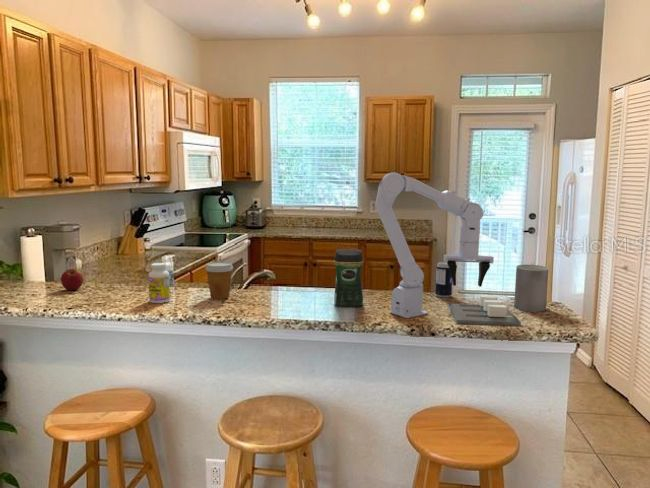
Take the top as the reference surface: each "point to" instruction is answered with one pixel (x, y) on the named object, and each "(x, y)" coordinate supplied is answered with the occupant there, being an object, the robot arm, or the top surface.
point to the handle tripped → (497, 311)
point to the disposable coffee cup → (219, 279)
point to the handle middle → (490, 303)
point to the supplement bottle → (159, 283)
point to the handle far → (486, 299)
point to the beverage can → (443, 280)
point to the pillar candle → (531, 288)
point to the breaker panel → (479, 315)
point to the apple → (72, 279)
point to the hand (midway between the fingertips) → (466, 285)
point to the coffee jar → (348, 278)
